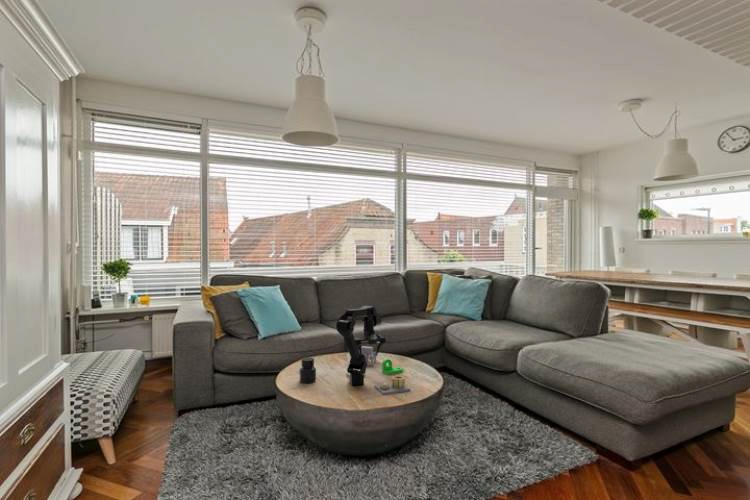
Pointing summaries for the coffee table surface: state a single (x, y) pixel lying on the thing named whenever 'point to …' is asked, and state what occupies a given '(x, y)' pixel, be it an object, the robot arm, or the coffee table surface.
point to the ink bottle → (307, 370)
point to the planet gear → (398, 382)
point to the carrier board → (390, 388)
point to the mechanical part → (390, 368)
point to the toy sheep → (367, 352)
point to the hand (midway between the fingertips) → (368, 355)
